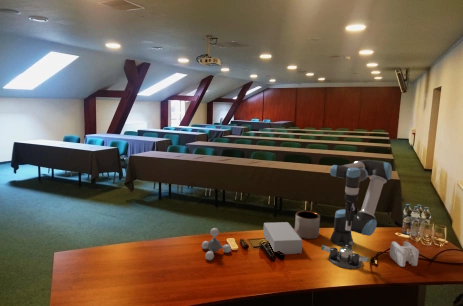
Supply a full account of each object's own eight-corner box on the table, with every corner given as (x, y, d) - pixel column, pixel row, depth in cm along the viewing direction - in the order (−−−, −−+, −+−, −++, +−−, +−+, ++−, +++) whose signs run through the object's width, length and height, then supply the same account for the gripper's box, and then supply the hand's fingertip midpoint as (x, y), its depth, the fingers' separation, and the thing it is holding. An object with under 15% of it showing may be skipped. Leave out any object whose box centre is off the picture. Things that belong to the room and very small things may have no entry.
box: (287, 234, 240) (288, 222, 238) (301, 253, 210) (302, 239, 209) (263, 235, 237) (263, 222, 235) (273, 254, 208) (274, 240, 206)
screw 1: (350, 256, 205) (351, 247, 204) (343, 254, 208) (344, 245, 207) (354, 250, 214) (355, 241, 213) (347, 248, 216) (348, 239, 215)
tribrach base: (321, 256, 206) (322, 245, 205) (344, 250, 216) (345, 239, 214) (345, 272, 189) (347, 259, 188) (369, 264, 198) (370, 252, 197)
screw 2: (350, 265, 194) (351, 255, 193) (351, 261, 198) (351, 252, 197) (369, 268, 191) (370, 259, 190) (369, 265, 195) (370, 255, 194)
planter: (319, 232, 245) (321, 212, 242) (317, 241, 229) (319, 220, 226) (296, 228, 251) (297, 209, 248) (292, 237, 234) (293, 216, 232)
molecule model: (202, 269, 201) (214, 251, 190) (190, 248, 208) (201, 230, 197) (225, 259, 215) (238, 241, 204) (213, 239, 222) (225, 222, 211)
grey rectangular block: (338, 258, 202) (338, 249, 201) (334, 260, 199) (335, 251, 198) (323, 252, 209) (323, 243, 208) (319, 254, 206) (320, 245, 205)
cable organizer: (418, 268, 195) (420, 251, 193) (401, 268, 195) (403, 250, 193) (403, 256, 210) (406, 240, 208) (388, 256, 209) (390, 239, 207)
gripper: (361, 196, 188) (357, 234, 192) (354, 190, 201) (350, 226, 205) (348, 196, 188) (345, 234, 192) (342, 190, 201) (338, 225, 205)
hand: (348, 230), depth 199 cm, fingers closed
